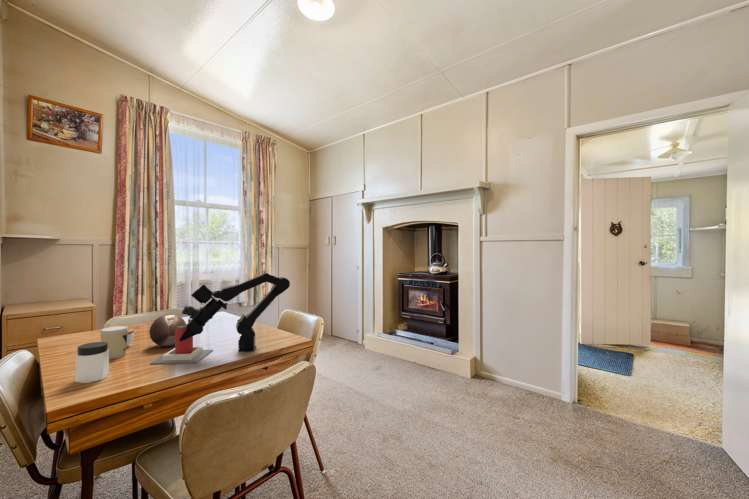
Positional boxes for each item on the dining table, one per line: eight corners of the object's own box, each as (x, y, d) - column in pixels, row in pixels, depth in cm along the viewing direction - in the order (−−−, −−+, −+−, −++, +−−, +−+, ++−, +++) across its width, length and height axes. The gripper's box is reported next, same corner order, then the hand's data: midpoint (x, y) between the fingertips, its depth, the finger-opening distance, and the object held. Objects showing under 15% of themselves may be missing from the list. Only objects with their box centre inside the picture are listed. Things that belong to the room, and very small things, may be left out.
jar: (106, 372, 120) (106, 340, 120) (111, 377, 114) (111, 344, 114) (73, 379, 113) (74, 345, 113) (77, 385, 108) (77, 350, 108)
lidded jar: (104, 346, 150) (104, 327, 150) (133, 342, 157) (133, 323, 157) (104, 352, 142) (104, 331, 142) (134, 348, 149) (134, 328, 149)
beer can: (196, 352, 138) (196, 324, 138) (181, 357, 133) (181, 328, 133) (186, 350, 141) (186, 323, 141) (171, 354, 135) (171, 326, 135)
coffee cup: (129, 356, 138) (130, 328, 138) (101, 361, 131) (101, 332, 131) (125, 351, 144) (125, 324, 144) (98, 356, 137) (98, 328, 137)
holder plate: (212, 350, 146) (212, 344, 146) (197, 363, 130) (197, 356, 130) (170, 351, 144) (170, 345, 144) (150, 364, 128) (150, 357, 128)
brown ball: (158, 352, 143) (159, 319, 143) (143, 347, 151) (143, 315, 151) (192, 344, 155) (193, 313, 155) (176, 339, 163) (177, 310, 163)
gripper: (195, 295, 147) (167, 322, 142) (193, 301, 130) (161, 332, 125) (214, 311, 151) (187, 337, 146) (215, 319, 134) (184, 349, 129)
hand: (180, 338), depth 136 cm, fingers closed on beer can, 6 cm apart
